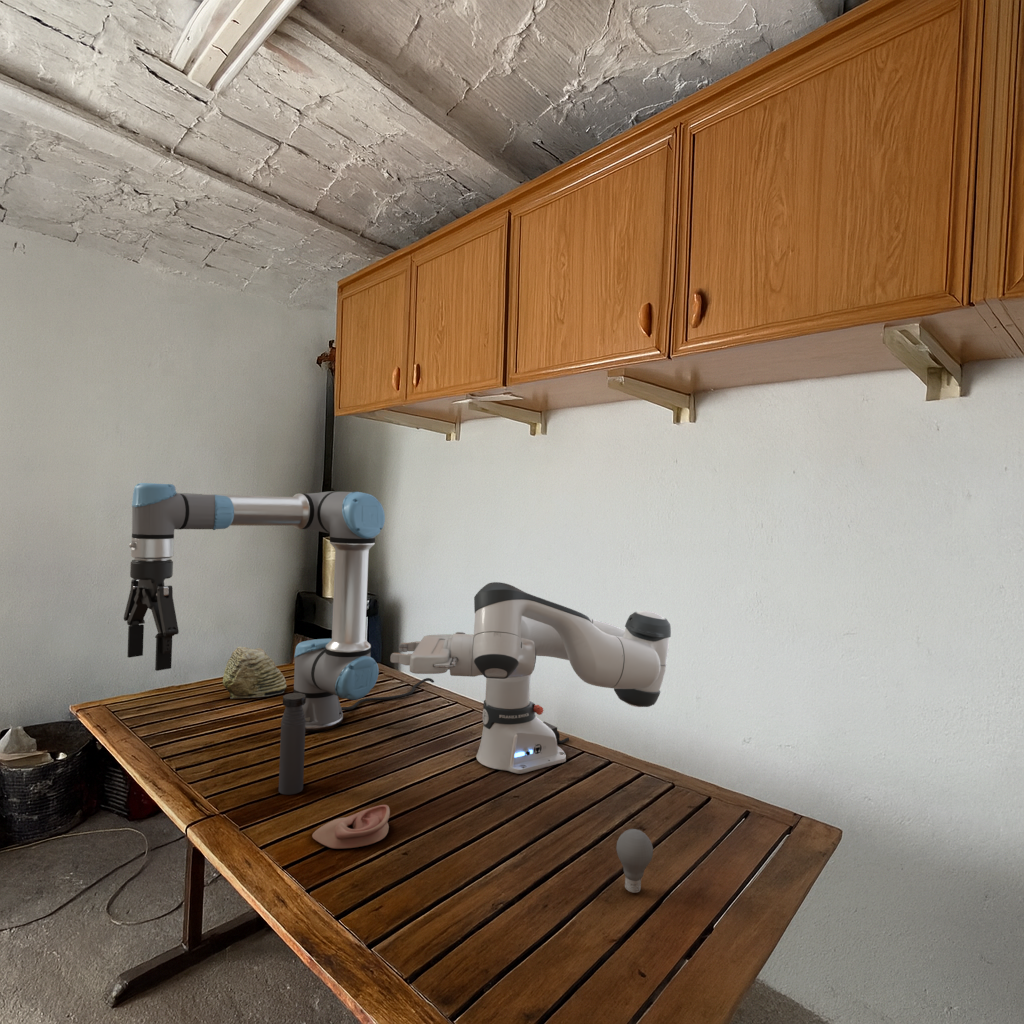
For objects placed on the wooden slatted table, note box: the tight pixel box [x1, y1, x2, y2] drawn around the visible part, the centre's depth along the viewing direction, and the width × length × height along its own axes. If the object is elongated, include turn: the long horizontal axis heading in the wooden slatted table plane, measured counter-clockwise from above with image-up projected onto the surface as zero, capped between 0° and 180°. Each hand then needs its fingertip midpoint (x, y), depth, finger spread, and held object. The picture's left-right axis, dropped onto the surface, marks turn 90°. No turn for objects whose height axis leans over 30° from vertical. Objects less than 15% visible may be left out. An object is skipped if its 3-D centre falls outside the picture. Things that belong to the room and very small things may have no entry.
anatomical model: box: [311, 804, 391, 850], centre depth 119 cm, size 13×4×12 cm
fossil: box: [222, 646, 288, 699], centre depth 198 cm, size 9×18×15 cm, turn 132°
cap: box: [282, 692, 306, 707], centre depth 136 cm, size 5×5×2 cm
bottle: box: [278, 706, 306, 796], centre depth 136 cm, size 5×5×20 cm
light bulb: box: [615, 828, 654, 894], centre depth 106 cm, size 6×6×10 cm
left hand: (148, 662), depth 129 cm, fingers open, 13 cm apart
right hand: (395, 652), depth 136 cm, fingers open, 8 cm apart
